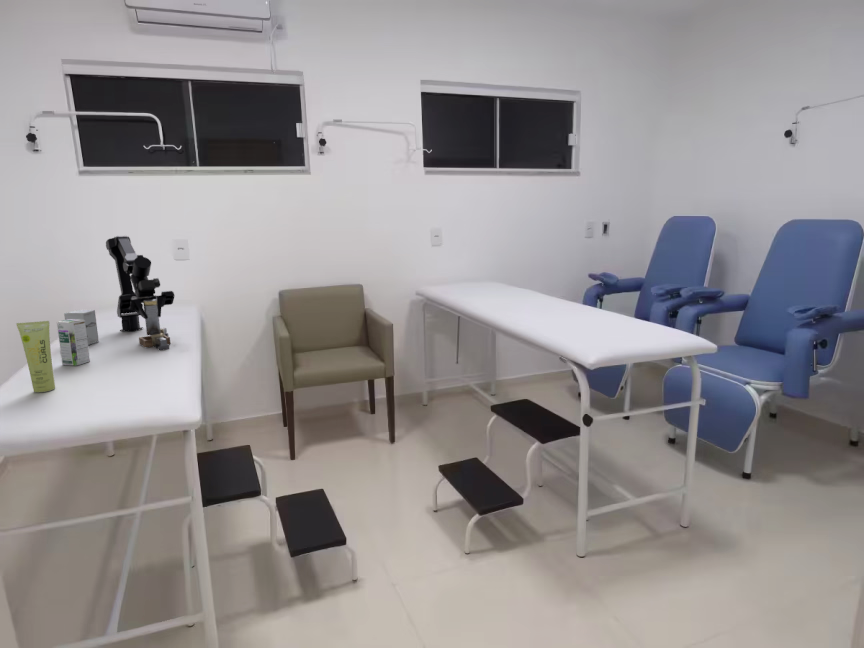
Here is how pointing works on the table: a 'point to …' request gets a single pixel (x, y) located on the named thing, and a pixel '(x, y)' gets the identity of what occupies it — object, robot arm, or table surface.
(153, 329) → the grey cylinder
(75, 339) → the syrup box
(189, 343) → the table surface
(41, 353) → the tube
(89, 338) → the supplement box
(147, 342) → the hollow wooden square frame
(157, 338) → the grey and wooden pieces
